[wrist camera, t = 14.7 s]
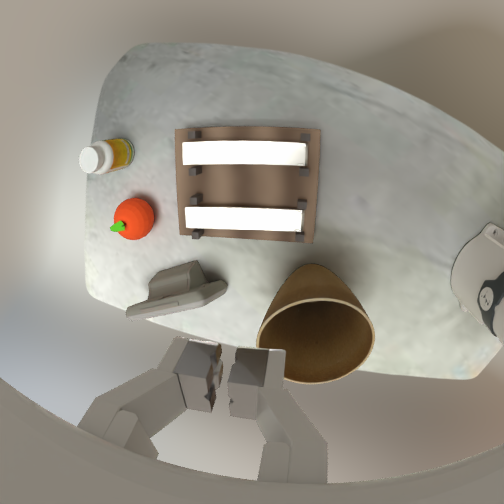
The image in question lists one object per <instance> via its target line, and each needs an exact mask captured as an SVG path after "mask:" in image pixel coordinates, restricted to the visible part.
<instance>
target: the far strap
mask: <svg viewBox="0 0 504 504" xmlns="http://www.w3.org/2000/svg"><path fill="white" fill-rule="evenodd" d="M304 215H305V210H304V209H291V208H267V207H231V206H186V207H185V216H186V228H212V229H246V230H273V231H297V232H303V228H304Z"/></svg>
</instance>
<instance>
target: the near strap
mask: <svg viewBox="0 0 504 504" xmlns="http://www.w3.org/2000/svg"><path fill="white" fill-rule="evenodd" d="M186 164H272V165H294V166H307V165H308V143H293V142H270V141H209V142H186V143H183V165H186Z"/></svg>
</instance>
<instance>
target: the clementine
mask: <svg viewBox="0 0 504 504" xmlns="http://www.w3.org/2000/svg"><path fill="white" fill-rule="evenodd" d="M153 223H154V213H153V210H152V208H151V206H150V205H149V204H148V203H147V202H145V201H144V200H141V199H139V198H131V199H127V200H125V201H123V202H122V203H121V204H120V205H119V206H118V207H117V209H116V212H115V214H114V225H112V226H111V227H110V229H111V231H114V232H118V233H119V234H120V235H121V236H123V237H124V238H126V239H130V240H137V239H140V238H143V237H145V236H146V235H147V234H148V233H149V232H150V231H151V229H152V227H153Z"/></svg>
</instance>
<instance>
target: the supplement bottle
mask: <svg viewBox="0 0 504 504" xmlns="http://www.w3.org/2000/svg"><path fill="white" fill-rule="evenodd" d="M133 156H134V149H133V146H132V144H131V143H130V141H128V140H126V139H111V140H102V141H97V142H95V143H93V144H92V145H91V146H89V147H86V148H84V149H83V150H82V151H81V153H80V156H79V163H80V167H81V168H82V170H83V171H84V172H86V173H95V174H98V175H101V174H105V173H109V172H112V171H116V170H120V169H123V168H126V167H127V166H129V165H130V163H131V162H132V160H133Z"/></svg>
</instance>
